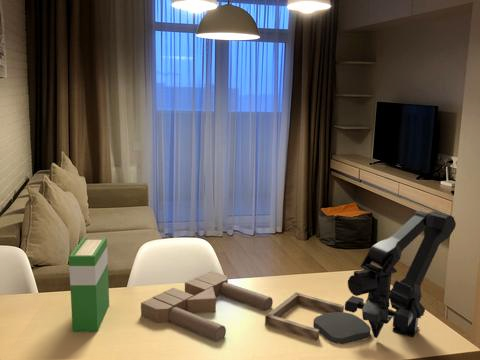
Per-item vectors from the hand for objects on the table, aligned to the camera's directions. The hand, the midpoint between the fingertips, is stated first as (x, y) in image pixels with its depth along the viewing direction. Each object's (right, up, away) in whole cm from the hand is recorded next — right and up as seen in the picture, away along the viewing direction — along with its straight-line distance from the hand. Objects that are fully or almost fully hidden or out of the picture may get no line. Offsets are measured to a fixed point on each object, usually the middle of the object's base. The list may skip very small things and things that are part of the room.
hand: (375, 337), depth 149 cm
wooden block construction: (-50, +3, +18) cm, 53 cm away
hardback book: (-87, +3, +10) cm, 88 cm away
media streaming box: (-9, 0, +6) cm, 11 cm away
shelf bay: (-19, +2, +12) cm, 22 cm away
